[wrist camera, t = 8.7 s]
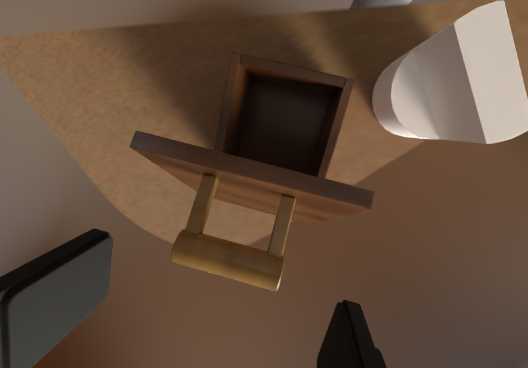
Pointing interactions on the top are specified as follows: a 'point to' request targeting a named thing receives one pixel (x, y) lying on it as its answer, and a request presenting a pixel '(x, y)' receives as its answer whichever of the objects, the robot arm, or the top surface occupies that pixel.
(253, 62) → the compartment
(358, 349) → the robot arm
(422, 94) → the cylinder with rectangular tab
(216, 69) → the top surface
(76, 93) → the top surface
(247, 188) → the compartment lid
